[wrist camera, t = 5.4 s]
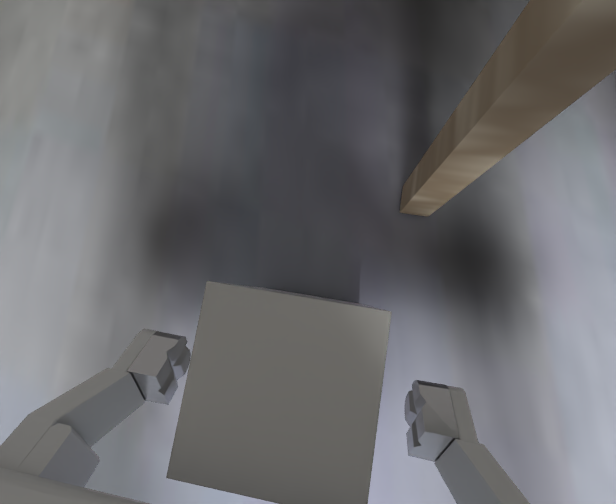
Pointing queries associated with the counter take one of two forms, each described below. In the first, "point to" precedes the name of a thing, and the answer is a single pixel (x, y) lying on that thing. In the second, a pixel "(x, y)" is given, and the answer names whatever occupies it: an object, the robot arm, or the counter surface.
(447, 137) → the frame
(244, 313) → the stone
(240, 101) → the counter surface
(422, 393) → the robot arm
